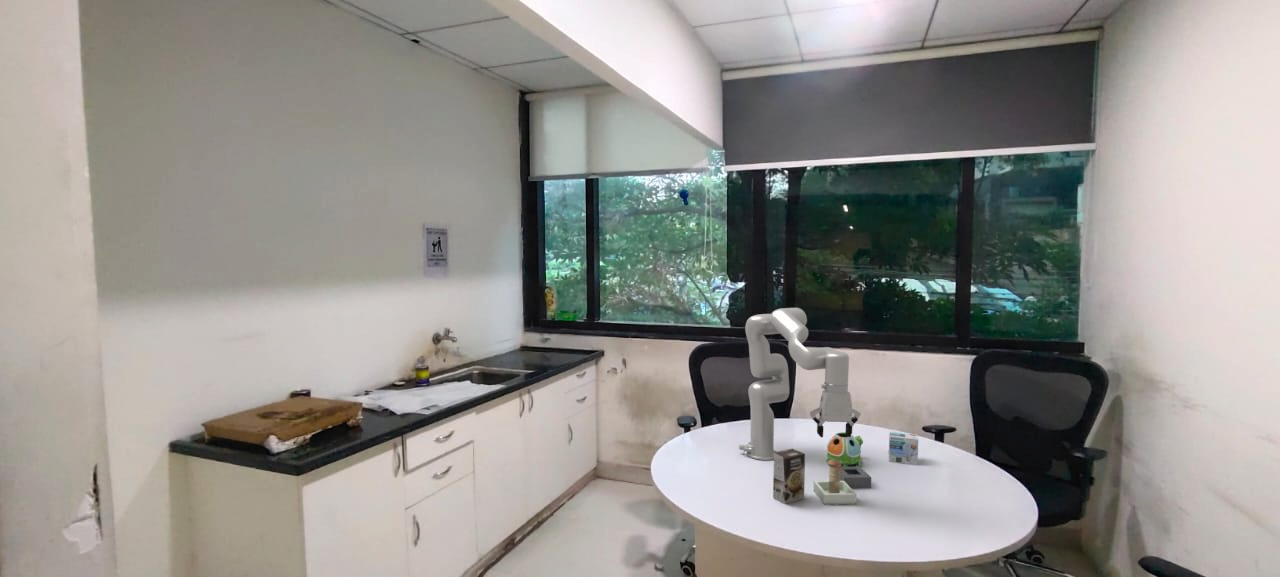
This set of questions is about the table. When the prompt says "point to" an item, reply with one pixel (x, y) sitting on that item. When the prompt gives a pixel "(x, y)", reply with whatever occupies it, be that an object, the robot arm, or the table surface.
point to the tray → (835, 498)
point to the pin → (834, 476)
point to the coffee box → (789, 475)
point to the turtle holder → (845, 449)
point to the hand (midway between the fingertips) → (834, 435)
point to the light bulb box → (903, 448)
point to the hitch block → (855, 477)
